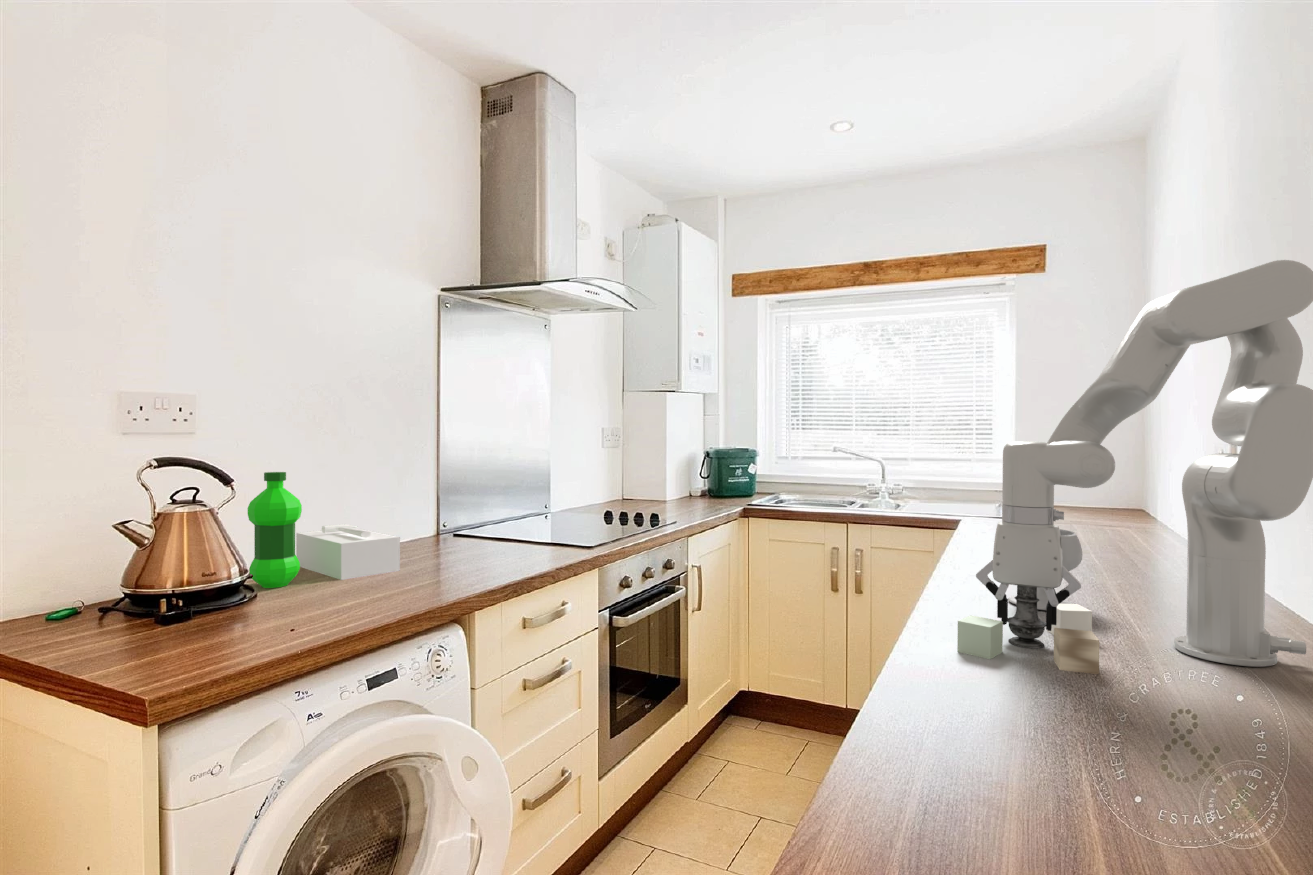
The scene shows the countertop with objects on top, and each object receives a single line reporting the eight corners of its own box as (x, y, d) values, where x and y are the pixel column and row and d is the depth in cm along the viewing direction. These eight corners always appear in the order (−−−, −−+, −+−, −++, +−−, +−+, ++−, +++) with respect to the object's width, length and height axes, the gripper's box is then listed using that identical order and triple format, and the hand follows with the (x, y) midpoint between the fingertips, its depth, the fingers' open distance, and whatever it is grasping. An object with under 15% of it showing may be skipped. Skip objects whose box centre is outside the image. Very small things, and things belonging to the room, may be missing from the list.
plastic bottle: (286, 590, 150) (286, 474, 150) (237, 590, 150) (237, 473, 150) (310, 580, 160) (310, 471, 160) (264, 580, 160) (264, 471, 160)
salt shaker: (1051, 650, 112) (1052, 575, 112) (1012, 647, 113) (1013, 573, 113) (1039, 639, 118) (1040, 568, 118) (1001, 636, 119) (1002, 566, 119)
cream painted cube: (1077, 632, 122) (1077, 604, 122) (1091, 641, 117) (1092, 611, 117) (1047, 631, 123) (1047, 603, 123) (1060, 639, 118) (1060, 610, 118)
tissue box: (352, 559, 189) (352, 518, 188) (399, 571, 172) (400, 527, 172) (296, 566, 178) (296, 523, 178) (341, 581, 161) (341, 533, 161)
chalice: (1066, 617, 132) (1067, 538, 132) (991, 603, 142) (991, 530, 142) (1092, 606, 141) (1092, 531, 141) (1019, 593, 151) (1020, 524, 151)
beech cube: (1091, 664, 106) (1091, 631, 106) (1098, 674, 101) (1099, 640, 101) (1053, 660, 107) (1053, 627, 107) (1059, 670, 103) (1059, 636, 103)
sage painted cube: (1002, 652, 111) (1002, 621, 111) (990, 659, 107) (990, 627, 107) (970, 645, 114) (970, 615, 114) (957, 652, 111) (957, 620, 111)
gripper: (1088, 517, 114) (1087, 628, 114) (973, 511, 123) (972, 613, 123) (1089, 522, 108) (1088, 639, 108) (967, 515, 117) (966, 623, 117)
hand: (1026, 624), depth 115 cm, fingers closed on salt shaker, 5 cm apart
